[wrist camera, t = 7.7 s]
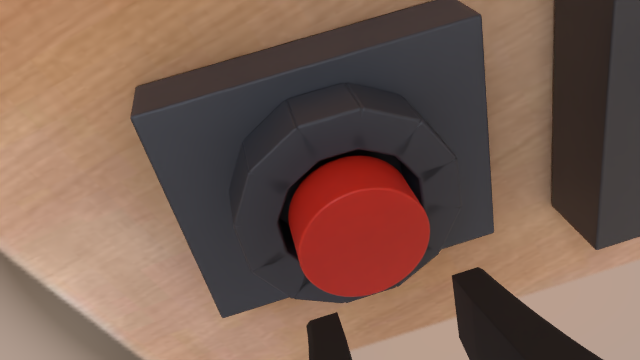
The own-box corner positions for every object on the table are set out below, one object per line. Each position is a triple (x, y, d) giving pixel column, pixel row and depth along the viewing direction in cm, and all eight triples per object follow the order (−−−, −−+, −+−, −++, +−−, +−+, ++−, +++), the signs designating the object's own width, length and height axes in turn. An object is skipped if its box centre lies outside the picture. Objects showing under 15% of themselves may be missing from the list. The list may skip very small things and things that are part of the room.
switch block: (218, 277, 21) (225, 360, 18) (134, 86, 17) (123, 149, 14) (468, 199, 22) (520, 265, 19) (450, -6, 17) (514, 33, 14)
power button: (303, 272, 17) (315, 313, 16) (273, 177, 15) (283, 213, 14) (416, 237, 17) (437, 274, 16) (399, 138, 15) (423, 170, 14)
